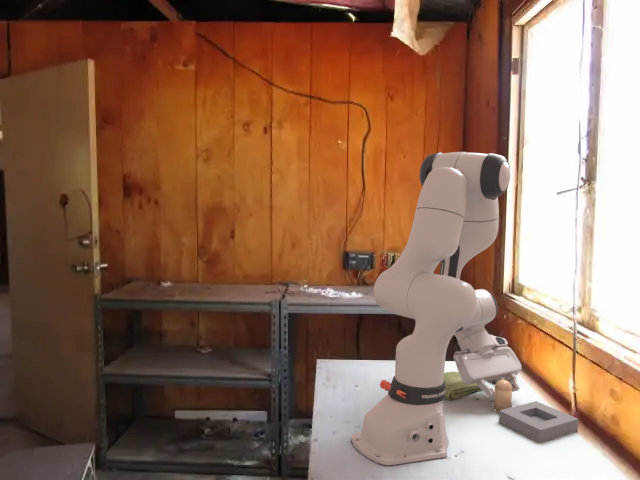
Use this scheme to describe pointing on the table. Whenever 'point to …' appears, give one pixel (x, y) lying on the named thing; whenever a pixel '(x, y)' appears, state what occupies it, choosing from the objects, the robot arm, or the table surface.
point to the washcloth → (457, 386)
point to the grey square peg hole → (538, 421)
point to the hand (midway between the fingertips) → (504, 393)
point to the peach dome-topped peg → (502, 395)
